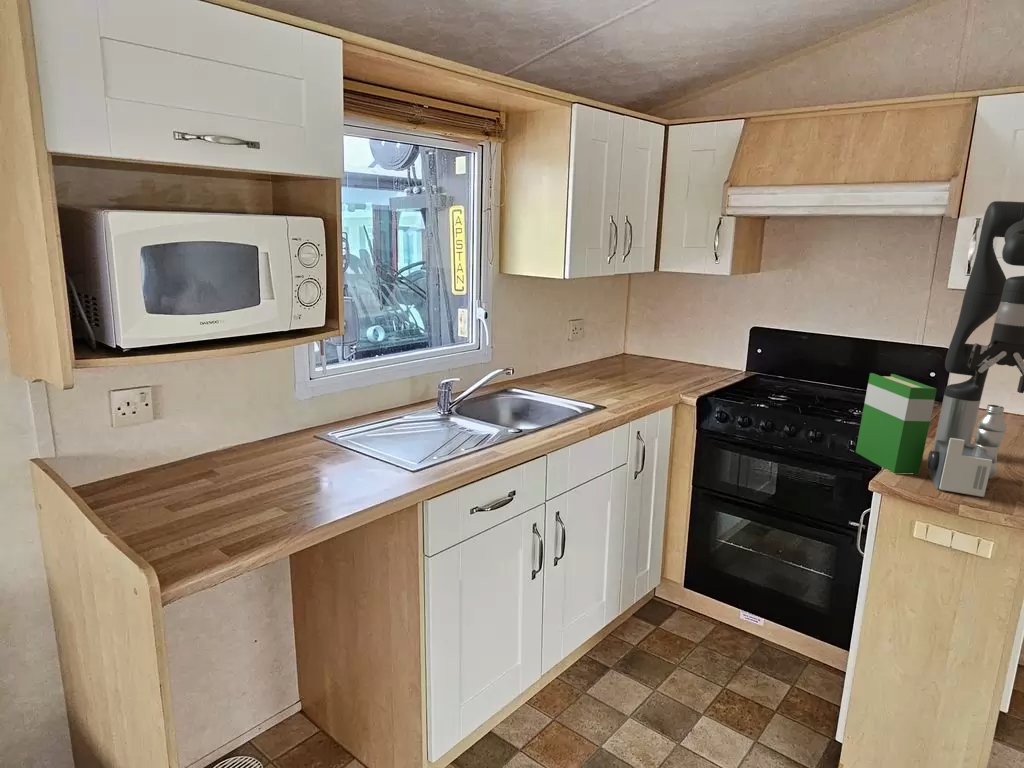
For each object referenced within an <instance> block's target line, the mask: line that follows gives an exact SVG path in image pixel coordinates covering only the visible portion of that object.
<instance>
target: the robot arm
mask: <svg viewBox="0 0 1024 768" xmlns="http://www.w3.org/2000/svg"><path fill="white" fill-rule="evenodd" d="M979 235H980V236H979V238H978V239H979V241H978V244H977V249H976V254H975V258H974V261H973V266H972V269H971V271H970V275H969V278H968V281H967V285H966V288H965V291H964V292H965V293H964V296H963V299H962V305H961V308H960V312H959V317H958V321H957V324H956V327H955V329H954V333H953V335H952V338H951V341H950V344H949V346H948V350H947V353H946V357H945V361H944V368H945V370H946V372H947V373H949V374H950V373H951V374H956V375H963V376H971V377H970V378H969V379H968V380H964V381H963V382H958V383H952V384H949V385H946V387H945V389H944V394H943V399H942V404H941V409H940V413H939V419H938V422H937V423H938V424H937V427H936V432H935V436H934V442H933V446H932V450H933V451H934V450H935V445H936V440H942V441H949V440H950V438H955V439H962V440H964V441H965V442H964V444H966V443H970V444H972V440H973V436H974V432H975V428H976V424H977V419H978V414H979V408H980V404H981V401H982V395H983V392H984V387H985V383H986V379H987V376H988V374H989V369H990V368H991V367H993V366H994V365H995V364H996V365H998V366H1008V367H1016V369H1018V371H1019V372H1020V374H1021V375H1022V376H1021V375H1020V376H1019V382H1018V385H1017V391H1016V392H1018V393H1019V394H1024V275H1017V276H1012V277H1008V278H1007V277H1006V275H1005V272H1004V271H1003V269H1002V266H1001V265H1000V263H999V261H998V258H997V256H996V251H995V249H994V241H995V238H1003V239H1004V245H1003V248H1002V252H1001V254H1002V260H1003V262H1004V263H1005V264H1007V265H1009V266H1016V267H1018V266H1019V267H1024V201H1004V200H996V201H992V202H990V203H989V204H988V206H987V207H986V210H985V213H984V217H983V221H982V225H981V230H980V234H979ZM995 314H996V315H995ZM994 315H995V319H994V323H993V329H992V332H991V336H990V337H991V338H990V341H989V344H988V345H985V344H984V345H983V344H979V343H977V342H976V343H974V344H973V343H967V341H968V340H969V338H970V336H971V335H972V334H973V332H975V331H976V330H977V329H978V328H979V327H980V326H982V324H984V323H985V322H986V321H988V320H989V319H990V318H991V317H993V316H994Z"/></svg>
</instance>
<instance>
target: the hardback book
mask: <svg viewBox="0 0 1024 768" xmlns="http://www.w3.org/2000/svg"><path fill="white" fill-rule="evenodd" d="M936 395H937V388H936V387H934V386H929V385H926V384H924V383H921V382H918V381H915V380H912V379H910V378H906V377H904V376H900V375H898V374H895V373H890V376H886V375H885V376H884V375H883V376H881V375H879V374H877V373H873V372H869V376H868V382H867V387H866V394H865V398H864V405H863V410H862V415H861V421H860V425H859V430H858V436H857V443H856V448H855V453H856V454H858V455H859V456H861V457H862V458H865V459H866V460H869V461H870V462H872V463H873V464H876V465H878V467H881V468H882V469H885V470H886V469H888V470H890V471H891V472H893V473H913V474H912V475H920V472H921V466H922V462H923V456H924V454H925V453H924V451H925V448H926V443H927V438H928V433H929V429H930V424H931V419H932V415H933V409H934V406H935V405H934V404H935V399H936ZM888 470H887V471H888ZM890 471H889V472H890ZM891 472H890V473H891ZM893 473H892V474H893Z"/></svg>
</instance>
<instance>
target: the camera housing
mask: <svg viewBox="0 0 1024 768" xmlns="http://www.w3.org/2000/svg"><path fill="white" fill-rule="evenodd" d="M948 445H949V441H942V440H936V445H935V450H934V449H933V450H930V451H929V452H928V456H927V464H926V465H927V470H929V474H928V475H929V477H930V478H931V481H932V482H933V484H934V485H935V487H936V489H937V490H939V491H940V489H939V486H940V482H941V477H942V473H943V468H944V463H945V459H946V454H947V450H948ZM962 455H964V456H971V457H977V458H984V459H990V460H992V459H991V458H990V457H989V456H988V454H987V453H986V452H985V451H984V450H983V449H982V448H981V447H980V446H976V445H975V443H974V444H973V443H971V444H970V443H966V444H964V447H963V451H962ZM943 491H946V490H943ZM949 492H950V493H953V492H952V491H949ZM955 493H957V494H959V493H958V492H955ZM961 494H962V495H965V494H964V493H961ZM968 495H969V496H971V495H970V494H967V496H968ZM974 496H976V495H973V497H974ZM976 497H977V496H976ZM979 497H980V498H983V497H982V496H979Z"/></svg>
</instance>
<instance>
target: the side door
mask: <svg viewBox="0 0 1024 768" xmlns="http://www.w3.org/2000/svg"><path fill="white" fill-rule="evenodd" d="M964 442H965V441H964V440H962V439H955V438H950V440H949V445H948V450H947V454H946V459H945V463H944V468H943V473H942V477H941V482H940V486H939V489H940V490H941V491H944V490H946V491H947V492H950V491H952V492H951V493H956V492H958V493H957V494H962V493H964V494H963V495H968V494H970V495H969V496H974V495H976V497H980V496H982V497H981V498H985V495H986V489H987V487H988V481H989V479H990V478H989V473H990V469H991V465H992V460H990V459H984V458H977V457H971V456H964V455H962V451H963V447H964ZM939 489H938V490H939ZM940 490H939V491H940Z"/></svg>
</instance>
